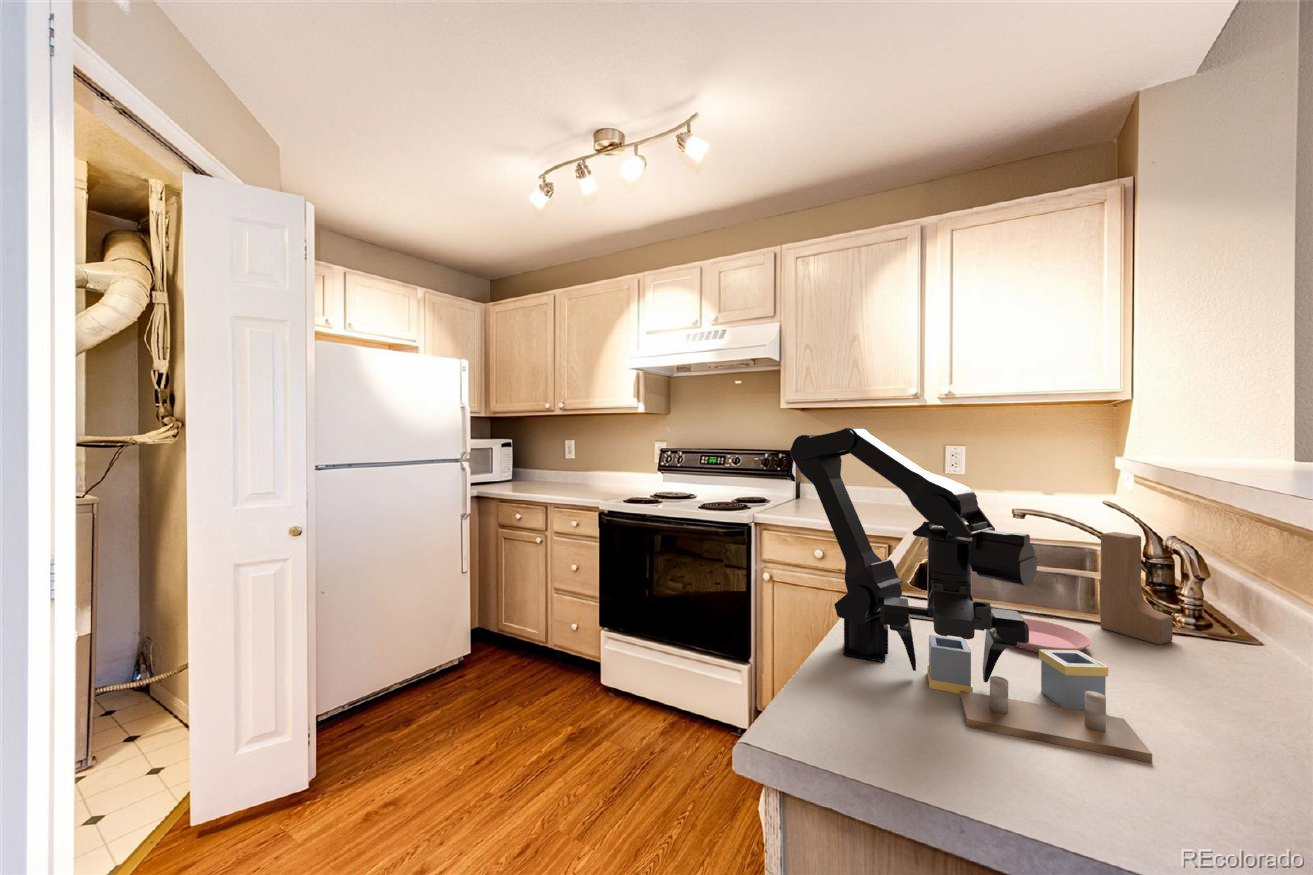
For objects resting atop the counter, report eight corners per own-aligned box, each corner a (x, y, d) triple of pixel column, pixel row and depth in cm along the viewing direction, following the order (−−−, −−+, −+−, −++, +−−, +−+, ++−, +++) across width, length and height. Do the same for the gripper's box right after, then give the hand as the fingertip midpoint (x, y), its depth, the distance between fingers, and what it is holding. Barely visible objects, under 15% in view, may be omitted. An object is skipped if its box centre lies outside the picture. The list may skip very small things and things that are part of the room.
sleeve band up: (1065, 711, 70) (1065, 666, 70) (1038, 691, 76) (1038, 649, 75) (1108, 712, 70) (1108, 667, 70) (1078, 692, 75) (1078, 650, 75)
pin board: (967, 726, 66) (967, 687, 66) (960, 697, 74) (960, 662, 74) (1152, 762, 59) (1152, 718, 59) (1123, 726, 66) (1123, 686, 66)
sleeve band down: (929, 688, 76) (929, 647, 76) (927, 672, 81) (927, 634, 81) (972, 695, 74) (972, 653, 74) (967, 679, 79) (967, 639, 79)
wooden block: (1173, 641, 93) (1174, 540, 93) (1160, 645, 91) (1160, 542, 91) (1112, 624, 101) (1113, 531, 101) (1099, 628, 100) (1099, 533, 99)
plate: (1089, 668, 83) (1089, 655, 83) (984, 645, 92) (984, 633, 92) (1091, 641, 94) (1091, 630, 94) (997, 622, 103) (997, 612, 103)
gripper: (879, 577, 74) (879, 687, 74) (1039, 593, 67) (1039, 716, 67) (880, 559, 84) (880, 656, 84) (1019, 571, 77) (1019, 678, 77)
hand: (948, 675), depth 78 cm, fingers open, 9 cm apart
